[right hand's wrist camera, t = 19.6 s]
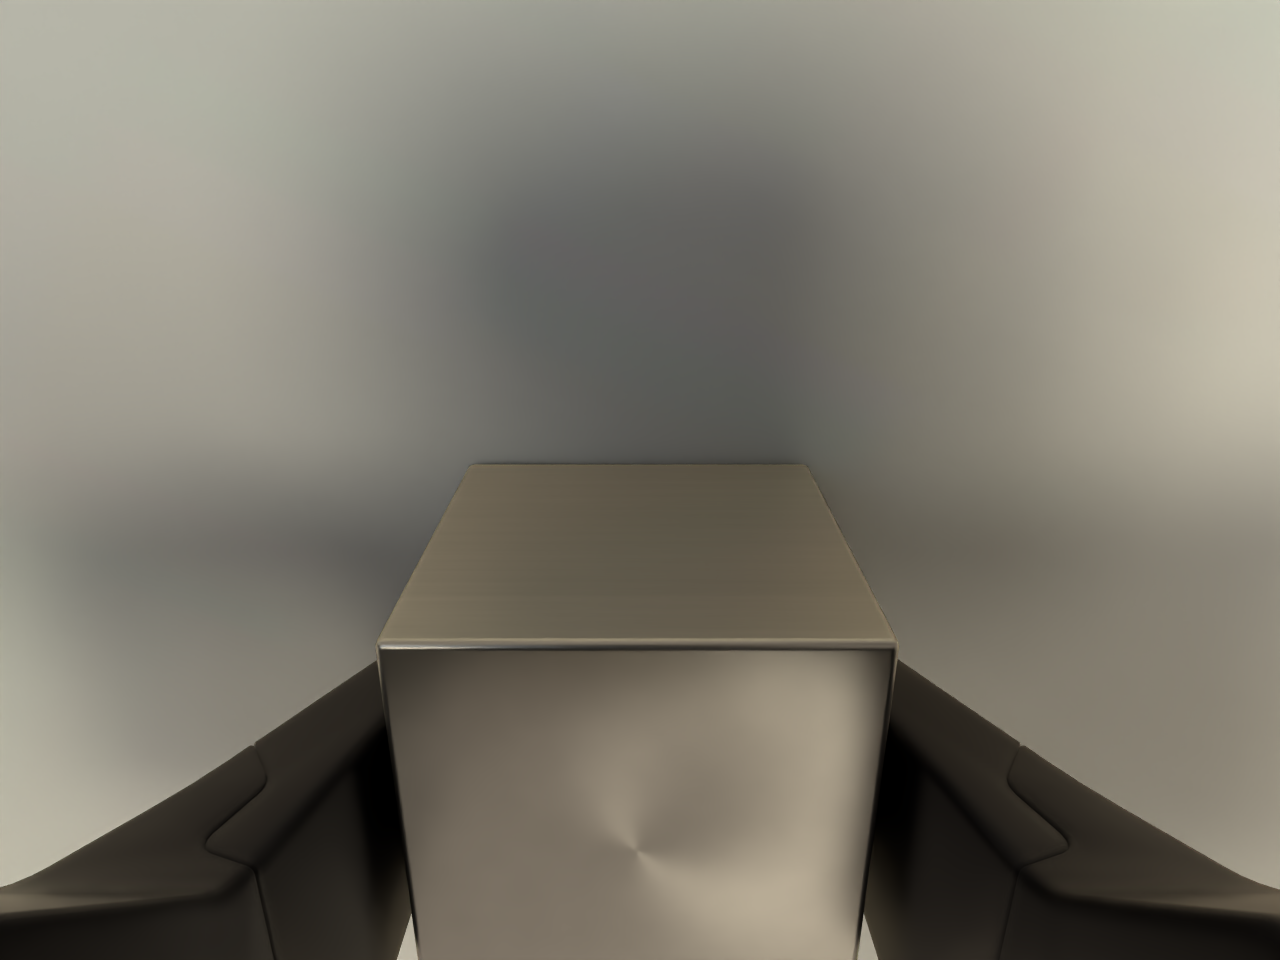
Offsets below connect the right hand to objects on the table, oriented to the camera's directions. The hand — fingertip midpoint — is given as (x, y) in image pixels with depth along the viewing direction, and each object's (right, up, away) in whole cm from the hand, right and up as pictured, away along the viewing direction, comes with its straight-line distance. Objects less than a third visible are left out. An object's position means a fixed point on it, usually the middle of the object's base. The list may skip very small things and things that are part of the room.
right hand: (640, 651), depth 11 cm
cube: (0, 0, +1) cm, 1 cm away
